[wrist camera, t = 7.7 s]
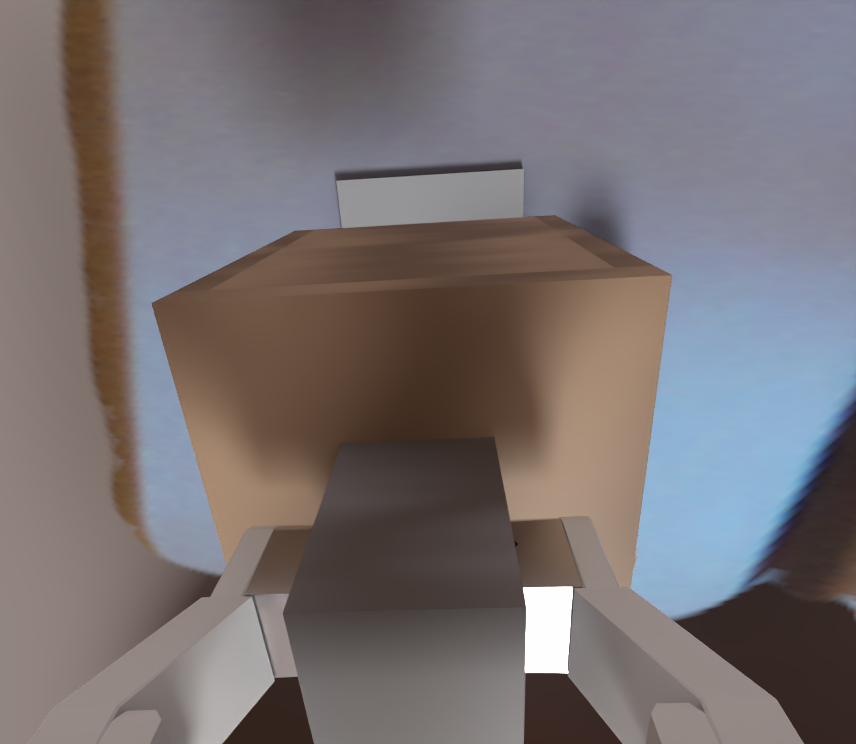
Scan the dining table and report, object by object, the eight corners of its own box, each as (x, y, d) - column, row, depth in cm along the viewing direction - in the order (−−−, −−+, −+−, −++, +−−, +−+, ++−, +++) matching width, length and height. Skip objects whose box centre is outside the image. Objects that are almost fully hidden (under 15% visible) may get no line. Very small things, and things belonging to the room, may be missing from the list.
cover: (555, 215, 17) (851, 366, 5) (546, 442, 21) (702, 867, 8) (294, 230, 17) (-55, 407, 5) (330, 450, 21) (173, 868, 9)
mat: (522, 168, 29) (523, 168, 29) (520, 344, 34) (521, 346, 33) (337, 180, 30) (336, 180, 29) (358, 352, 34) (357, 354, 34)
